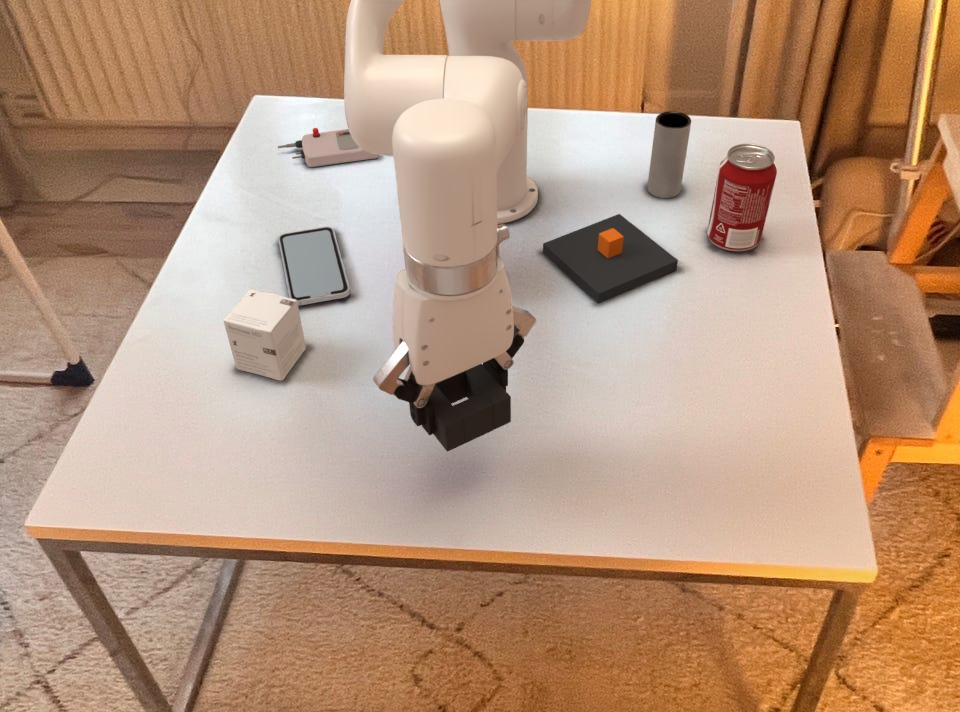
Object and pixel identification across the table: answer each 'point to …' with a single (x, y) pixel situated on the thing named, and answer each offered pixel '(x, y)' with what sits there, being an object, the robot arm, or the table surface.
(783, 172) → the table surface
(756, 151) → the soda can
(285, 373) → the product carton
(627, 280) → the base pad
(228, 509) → the table surface
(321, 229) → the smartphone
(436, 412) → the black square ring block
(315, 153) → the handheld electronic tester
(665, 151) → the gray hollow cylinder
